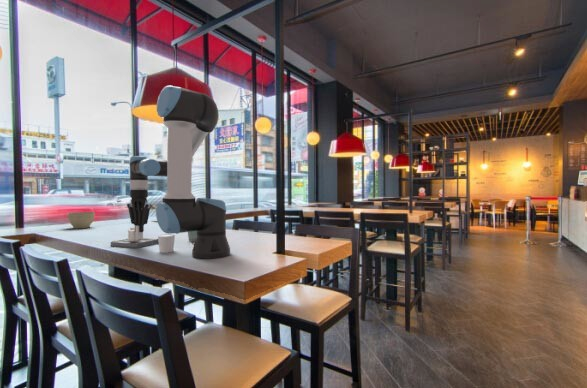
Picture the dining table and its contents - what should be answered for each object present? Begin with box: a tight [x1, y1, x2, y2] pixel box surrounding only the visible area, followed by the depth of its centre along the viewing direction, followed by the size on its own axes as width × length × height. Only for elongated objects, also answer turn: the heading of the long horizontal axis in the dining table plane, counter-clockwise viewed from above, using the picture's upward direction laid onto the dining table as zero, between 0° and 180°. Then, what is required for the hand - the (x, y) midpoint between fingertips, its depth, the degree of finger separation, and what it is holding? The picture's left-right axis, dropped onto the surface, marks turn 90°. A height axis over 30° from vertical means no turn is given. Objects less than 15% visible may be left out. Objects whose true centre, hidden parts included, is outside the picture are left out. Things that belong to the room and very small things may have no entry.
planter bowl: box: [66, 211, 96, 229], centre depth 214 cm, size 16×16×11 cm
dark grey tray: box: [110, 237, 159, 249], centre depth 147 cm, size 16×14×2 cm
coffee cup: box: [187, 231, 197, 243], centre depth 157 cm, size 8×8×12 cm
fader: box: [127, 229, 138, 241], centre depth 143 cm, size 3×3×5 cm
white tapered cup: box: [157, 233, 176, 254], centre depth 131 cm, size 7×7×7 cm
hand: (139, 238), depth 142 cm, fingers closed
